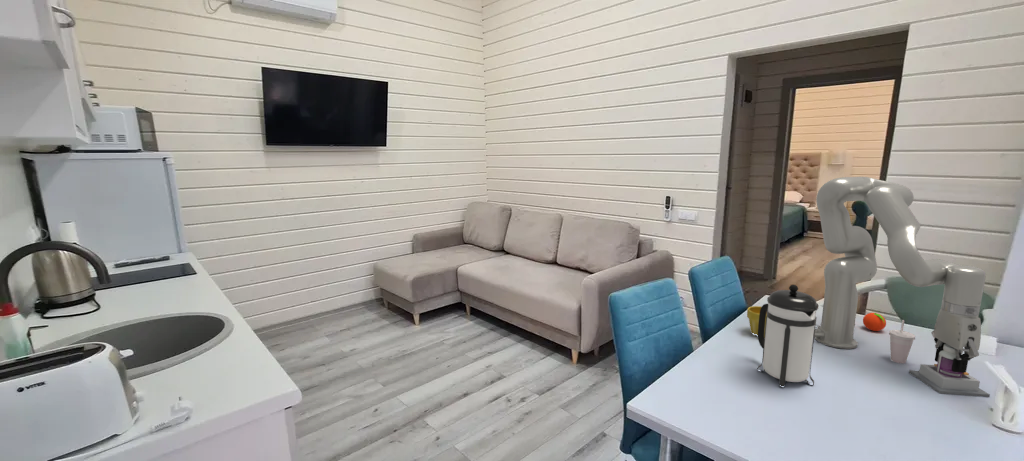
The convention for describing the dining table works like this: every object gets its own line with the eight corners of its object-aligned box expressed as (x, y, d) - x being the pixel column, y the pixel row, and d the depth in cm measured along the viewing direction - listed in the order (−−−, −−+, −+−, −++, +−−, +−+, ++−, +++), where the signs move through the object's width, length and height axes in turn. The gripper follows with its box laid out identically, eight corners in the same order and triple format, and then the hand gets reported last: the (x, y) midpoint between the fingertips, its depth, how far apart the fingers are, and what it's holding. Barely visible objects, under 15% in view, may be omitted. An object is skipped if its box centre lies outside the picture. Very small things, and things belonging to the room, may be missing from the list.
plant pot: (757, 327, 168) (759, 304, 166) (783, 337, 159) (785, 312, 157) (739, 332, 164) (741, 308, 162) (764, 342, 155) (766, 317, 153)
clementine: (892, 335, 159) (895, 317, 158) (873, 335, 159) (876, 317, 158) (874, 326, 167) (877, 309, 166) (857, 326, 167) (859, 309, 166)
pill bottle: (966, 382, 122) (972, 351, 120) (944, 381, 123) (950, 350, 121) (951, 373, 127) (956, 343, 125) (930, 371, 128) (935, 342, 126)
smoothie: (904, 357, 141) (911, 318, 139) (915, 366, 135) (922, 325, 133) (881, 355, 143) (887, 316, 141) (891, 364, 137) (897, 323, 135)
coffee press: (818, 375, 131) (829, 283, 126) (809, 396, 120) (820, 296, 115) (755, 358, 143) (763, 273, 138) (742, 376, 132) (750, 284, 126)
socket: (939, 393, 120) (942, 380, 120) (908, 372, 132) (910, 360, 131) (989, 397, 118) (992, 383, 117) (953, 375, 130) (955, 362, 129)
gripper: (1003, 320, 112) (991, 382, 115) (950, 299, 129) (941, 354, 132) (970, 318, 113) (959, 380, 116) (922, 298, 130) (913, 352, 133)
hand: (949, 366), depth 124 cm, fingers closed on pill bottle, 5 cm apart
